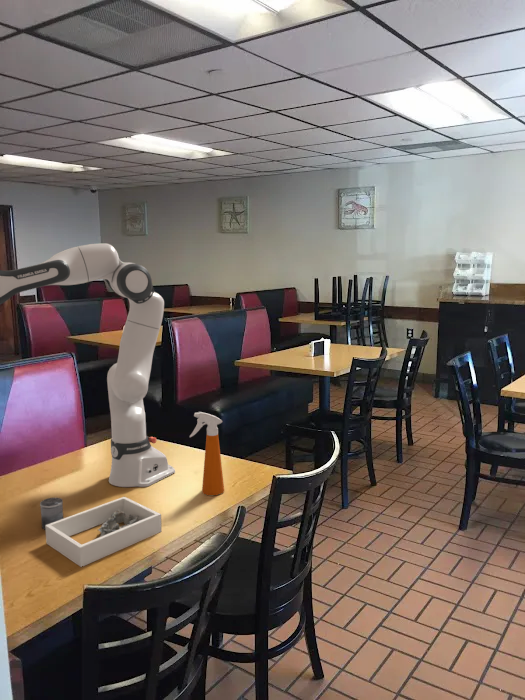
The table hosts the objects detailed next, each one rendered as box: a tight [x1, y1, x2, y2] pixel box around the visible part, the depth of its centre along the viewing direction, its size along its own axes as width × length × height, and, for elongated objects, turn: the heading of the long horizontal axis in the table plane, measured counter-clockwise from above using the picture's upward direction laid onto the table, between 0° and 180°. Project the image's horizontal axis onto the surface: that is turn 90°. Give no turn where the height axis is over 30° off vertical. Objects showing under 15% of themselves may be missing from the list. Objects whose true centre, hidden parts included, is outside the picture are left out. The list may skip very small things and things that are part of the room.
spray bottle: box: [189, 411, 225, 496], centre depth 175 cm, size 7×11×26 cm, turn 110°
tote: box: [45, 496, 162, 568], centre depth 148 cm, size 24×17×5 cm
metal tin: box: [39, 497, 64, 531], centre depth 155 cm, size 6×6×7 cm
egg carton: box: [97, 509, 137, 537], centre depth 152 cm, size 11×8×4 cm
